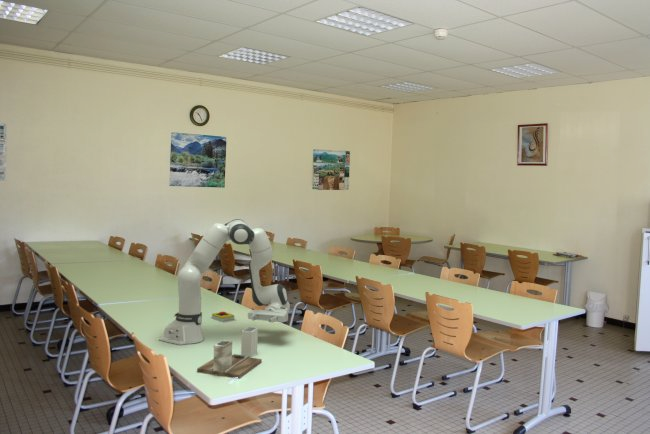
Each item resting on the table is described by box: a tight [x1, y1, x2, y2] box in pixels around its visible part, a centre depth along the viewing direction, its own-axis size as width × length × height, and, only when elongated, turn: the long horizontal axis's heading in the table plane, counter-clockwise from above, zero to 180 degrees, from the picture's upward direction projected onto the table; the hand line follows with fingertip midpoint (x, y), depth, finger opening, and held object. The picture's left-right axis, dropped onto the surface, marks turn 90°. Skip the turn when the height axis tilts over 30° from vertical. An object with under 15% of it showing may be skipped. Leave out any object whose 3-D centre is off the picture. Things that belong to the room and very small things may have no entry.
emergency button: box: [210, 311, 237, 324], centre depth 319 cm, size 9×4×15 cm
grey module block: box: [240, 326, 259, 358], centre depth 255 cm, size 5×7×12 cm
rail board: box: [196, 340, 263, 379], centre depth 237 cm, size 20×22×13 cm
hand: (261, 319), depth 266 cm, fingers open, 8 cm apart
